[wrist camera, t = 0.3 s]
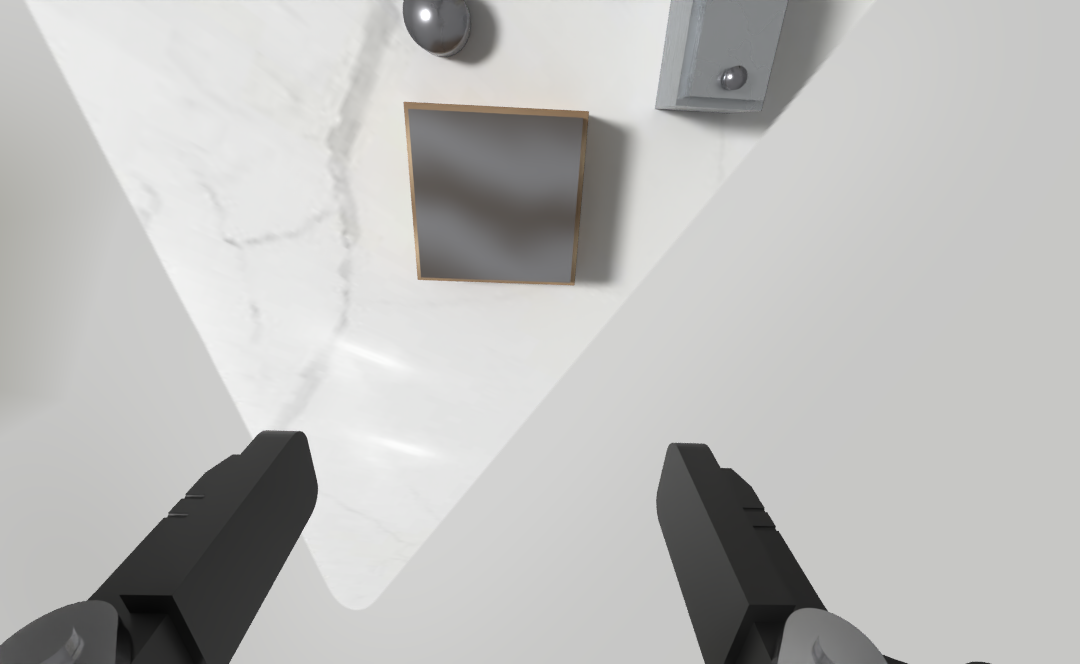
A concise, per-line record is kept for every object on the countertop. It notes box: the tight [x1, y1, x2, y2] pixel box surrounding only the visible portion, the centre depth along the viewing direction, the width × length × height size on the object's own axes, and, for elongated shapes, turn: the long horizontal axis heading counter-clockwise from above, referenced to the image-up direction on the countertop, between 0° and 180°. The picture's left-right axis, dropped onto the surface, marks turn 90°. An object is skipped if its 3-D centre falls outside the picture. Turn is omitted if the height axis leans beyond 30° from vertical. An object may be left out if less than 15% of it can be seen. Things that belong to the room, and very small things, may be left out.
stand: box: [404, 102, 589, 285], centre depth 32 cm, size 12×12×4 cm
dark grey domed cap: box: [403, 0, 471, 57], centre depth 28 cm, size 4×4×2 cm
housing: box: [655, 0, 788, 113], centre depth 27 cm, size 9×6×7 cm, turn 177°
